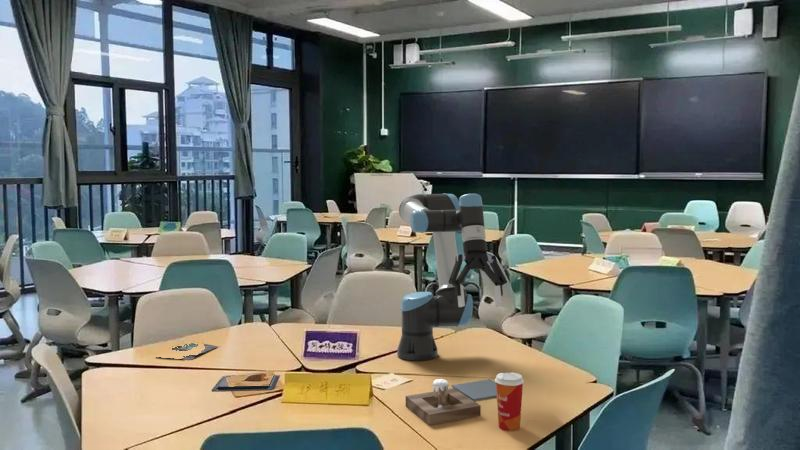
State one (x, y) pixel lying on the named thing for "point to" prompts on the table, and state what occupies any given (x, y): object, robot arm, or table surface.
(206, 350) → the terrain model
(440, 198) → the robot arm
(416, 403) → the pocket block
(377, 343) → the table surface
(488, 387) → the mat
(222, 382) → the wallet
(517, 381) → the paper cup
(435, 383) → the milkshake
